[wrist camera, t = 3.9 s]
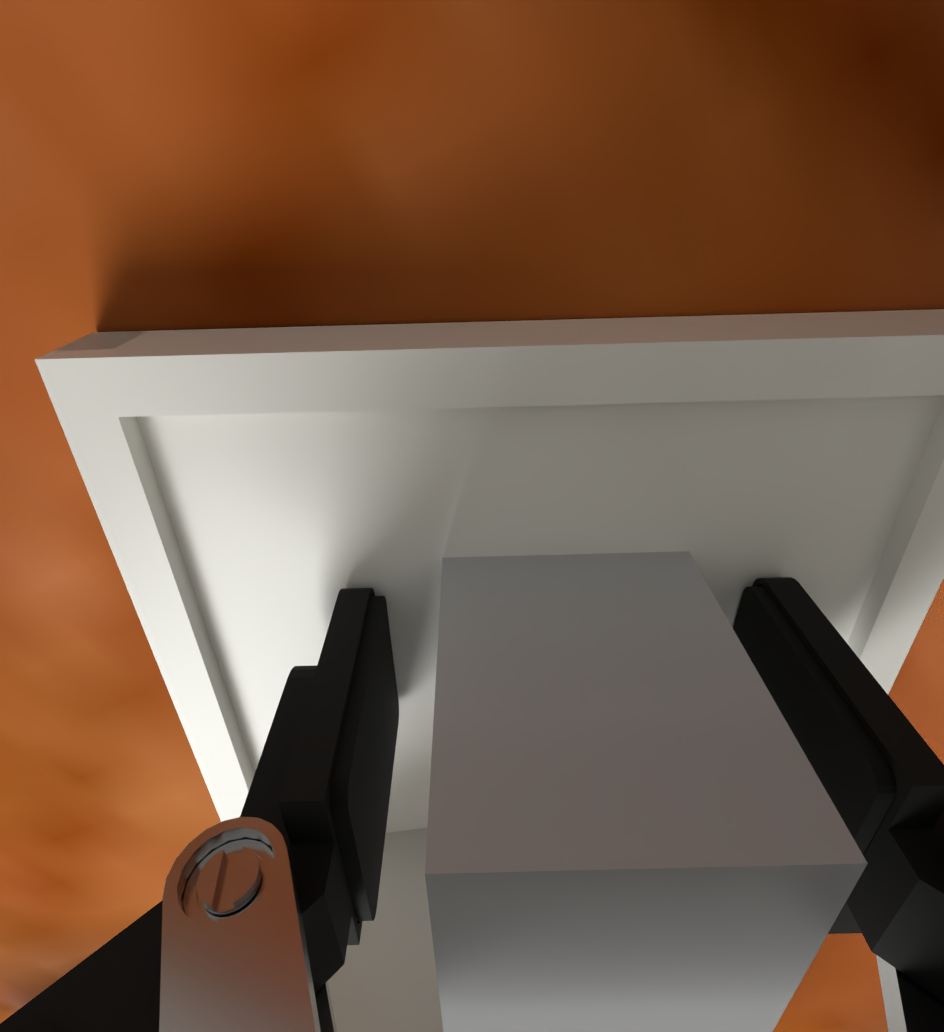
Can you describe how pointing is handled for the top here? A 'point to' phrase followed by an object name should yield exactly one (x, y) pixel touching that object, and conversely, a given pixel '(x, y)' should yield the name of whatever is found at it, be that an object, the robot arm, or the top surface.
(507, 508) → the white dish
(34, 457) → the top surface
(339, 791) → the robot arm
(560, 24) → the top surface
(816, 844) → the grey block
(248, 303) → the top surface
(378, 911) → the beige block
